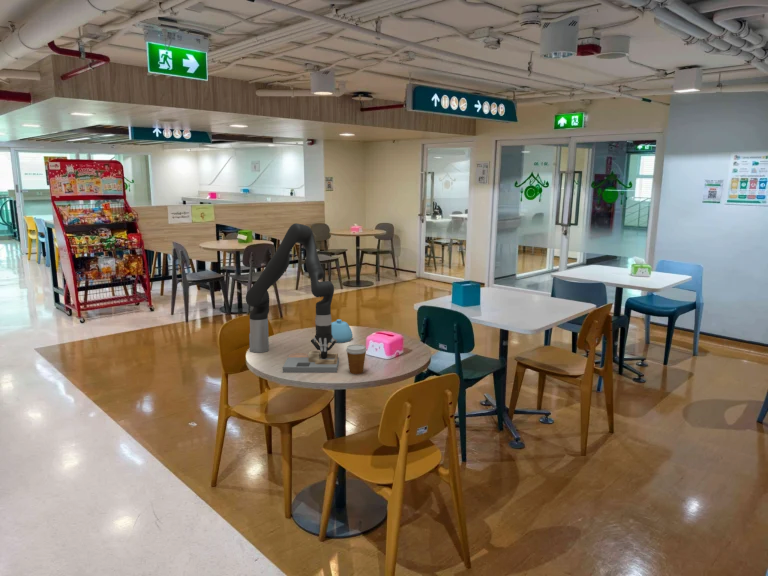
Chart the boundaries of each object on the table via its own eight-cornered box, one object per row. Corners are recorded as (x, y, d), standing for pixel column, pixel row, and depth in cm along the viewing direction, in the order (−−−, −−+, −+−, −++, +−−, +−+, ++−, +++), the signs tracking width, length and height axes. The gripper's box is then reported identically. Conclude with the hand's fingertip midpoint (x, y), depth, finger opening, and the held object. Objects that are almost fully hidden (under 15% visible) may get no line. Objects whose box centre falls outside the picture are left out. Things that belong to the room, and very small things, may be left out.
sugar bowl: (324, 343, 308) (323, 322, 306) (327, 336, 323) (327, 316, 321) (351, 343, 308) (351, 323, 306) (353, 336, 322) (353, 316, 320)
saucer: (286, 360, 277) (286, 358, 277) (289, 354, 287) (289, 352, 286) (307, 361, 277) (306, 358, 277) (309, 355, 287) (309, 352, 287)
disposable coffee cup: (347, 368, 266) (347, 343, 264) (367, 369, 266) (367, 344, 263) (344, 374, 257) (344, 349, 255) (365, 375, 256) (365, 350, 254)
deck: (282, 372, 260) (282, 367, 260) (288, 362, 275) (287, 357, 274) (336, 372, 260) (336, 367, 260) (339, 362, 275) (339, 357, 275)
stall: (315, 364, 264) (315, 360, 264) (317, 357, 275) (317, 353, 274) (336, 364, 264) (336, 360, 264) (338, 357, 275) (338, 353, 274)
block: (308, 362, 267) (308, 354, 267) (310, 358, 272) (309, 350, 272) (318, 362, 267) (318, 354, 267) (320, 359, 272) (320, 351, 271)
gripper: (339, 321, 269) (339, 356, 272) (312, 320, 271) (313, 355, 274) (335, 325, 261) (335, 361, 264) (307, 324, 263) (308, 360, 266)
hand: (324, 358), depth 269 cm, fingers closed
